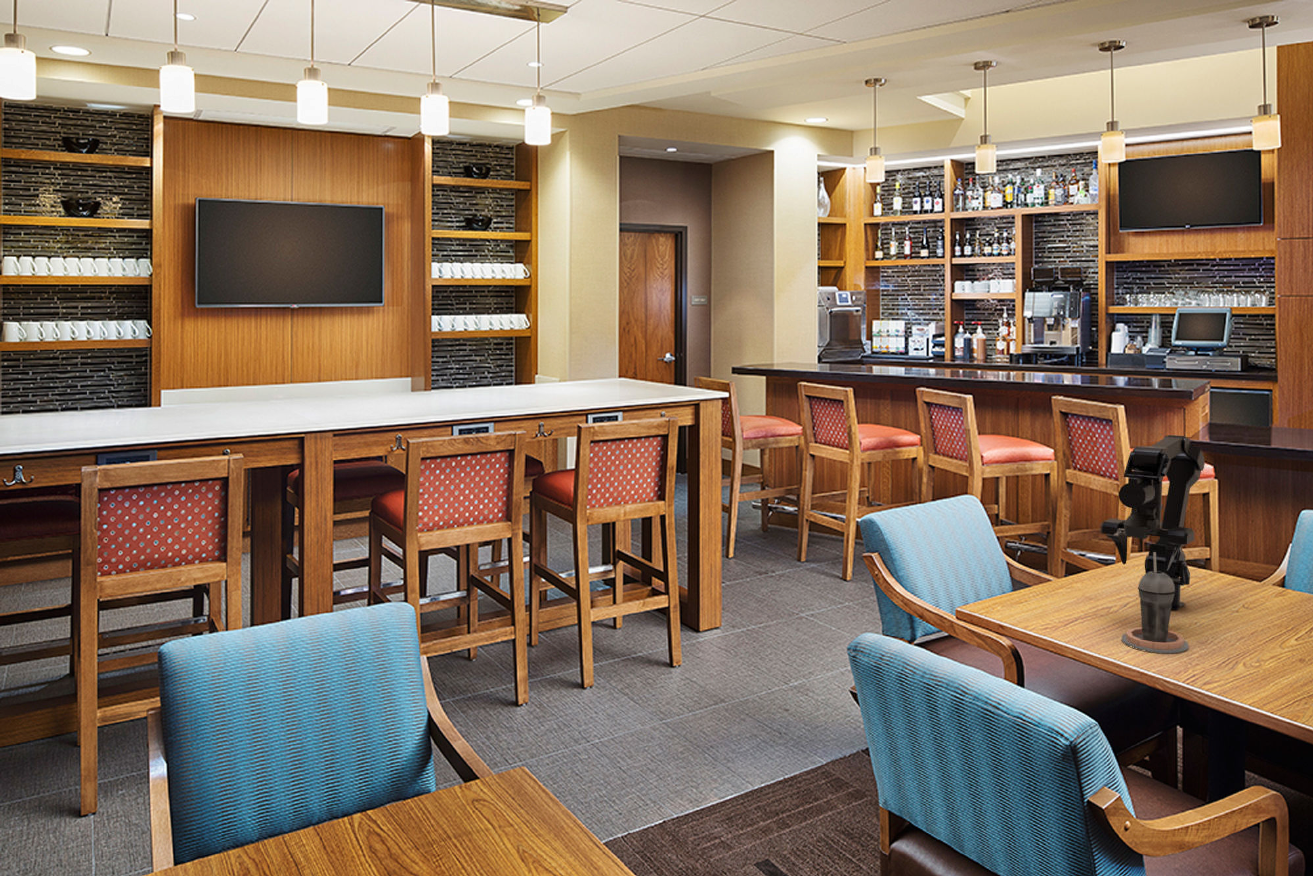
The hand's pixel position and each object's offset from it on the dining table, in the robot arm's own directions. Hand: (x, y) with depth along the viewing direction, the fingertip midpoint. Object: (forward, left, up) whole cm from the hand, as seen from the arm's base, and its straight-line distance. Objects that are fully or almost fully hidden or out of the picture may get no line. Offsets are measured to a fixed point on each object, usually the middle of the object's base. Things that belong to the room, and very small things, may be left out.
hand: (1145, 567), depth 220 cm
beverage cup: (+14, +7, -13) cm, 20 cm away
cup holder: (+14, +7, -13) cm, 20 cm away
